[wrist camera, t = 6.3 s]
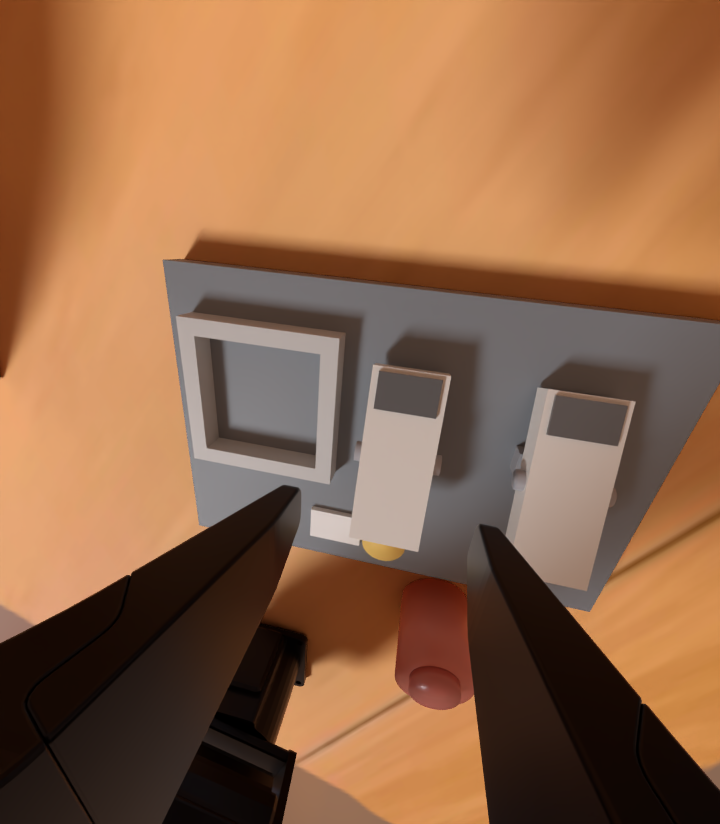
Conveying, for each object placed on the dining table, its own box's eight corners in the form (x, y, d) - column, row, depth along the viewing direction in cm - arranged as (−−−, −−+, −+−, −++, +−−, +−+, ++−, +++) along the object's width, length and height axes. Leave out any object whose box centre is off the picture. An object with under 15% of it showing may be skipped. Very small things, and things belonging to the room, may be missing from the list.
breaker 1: (424, 539, 17) (424, 555, 16) (347, 522, 17) (341, 537, 16) (455, 374, 15) (459, 377, 14) (369, 362, 16) (365, 363, 14)
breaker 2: (581, 576, 16) (596, 595, 14) (493, 557, 16) (500, 574, 15) (625, 400, 15) (646, 403, 13) (530, 386, 15) (541, 388, 14)
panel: (579, 589, 21) (598, 632, 19) (212, 510, 24) (187, 538, 22) (720, 320, 14) (779, 334, 12) (183, 259, 17) (143, 260, 15)
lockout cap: (460, 629, 25) (467, 726, 20) (397, 615, 25) (389, 705, 20) (474, 586, 23) (486, 681, 18) (406, 572, 23) (399, 659, 18)
